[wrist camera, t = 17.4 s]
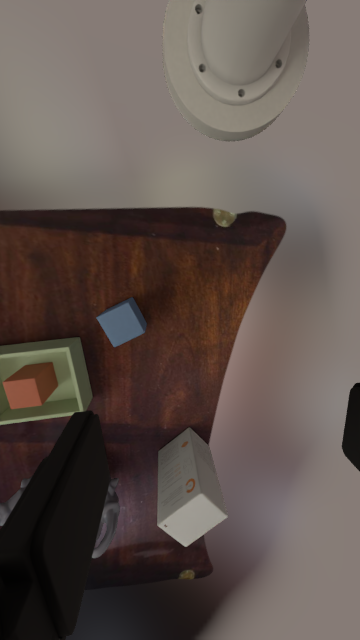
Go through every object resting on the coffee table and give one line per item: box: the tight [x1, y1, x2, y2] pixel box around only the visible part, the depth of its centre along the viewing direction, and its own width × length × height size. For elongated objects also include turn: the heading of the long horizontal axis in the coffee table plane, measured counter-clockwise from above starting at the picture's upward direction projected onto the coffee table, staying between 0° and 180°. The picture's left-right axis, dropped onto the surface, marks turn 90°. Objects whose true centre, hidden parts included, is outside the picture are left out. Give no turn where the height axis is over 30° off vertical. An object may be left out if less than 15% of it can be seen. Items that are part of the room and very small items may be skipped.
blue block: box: [97, 297, 147, 347], centre depth 35 cm, size 5×5×5 cm
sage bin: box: [0, 337, 93, 425], centre depth 36 cm, size 11×14×5 cm
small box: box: [157, 427, 228, 547], centre depth 38 cm, size 8×6×13 cm
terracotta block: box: [2, 362, 58, 409], centre depth 35 cm, size 4×4×6 cm
